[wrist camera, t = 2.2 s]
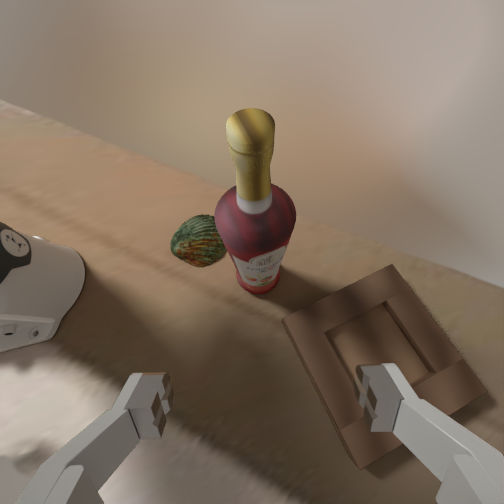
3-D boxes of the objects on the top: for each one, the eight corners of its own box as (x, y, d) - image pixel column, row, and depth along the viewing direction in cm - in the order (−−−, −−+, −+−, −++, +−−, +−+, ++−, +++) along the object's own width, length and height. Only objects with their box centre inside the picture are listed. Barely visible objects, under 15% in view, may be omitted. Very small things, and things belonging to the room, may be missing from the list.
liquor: (245, 304, 37) (208, 200, 11) (229, 263, 40) (168, 103, 14) (288, 286, 38) (345, 150, 12) (269, 247, 41) (282, 67, 15)
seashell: (234, 242, 37) (172, 268, 36) (237, 253, 41) (181, 277, 39) (213, 196, 41) (157, 218, 40) (218, 210, 45) (167, 230, 44)
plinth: (349, 456, 30) (360, 470, 26) (281, 320, 36) (283, 317, 33) (464, 387, 32) (487, 391, 29) (381, 271, 38) (392, 263, 35)
